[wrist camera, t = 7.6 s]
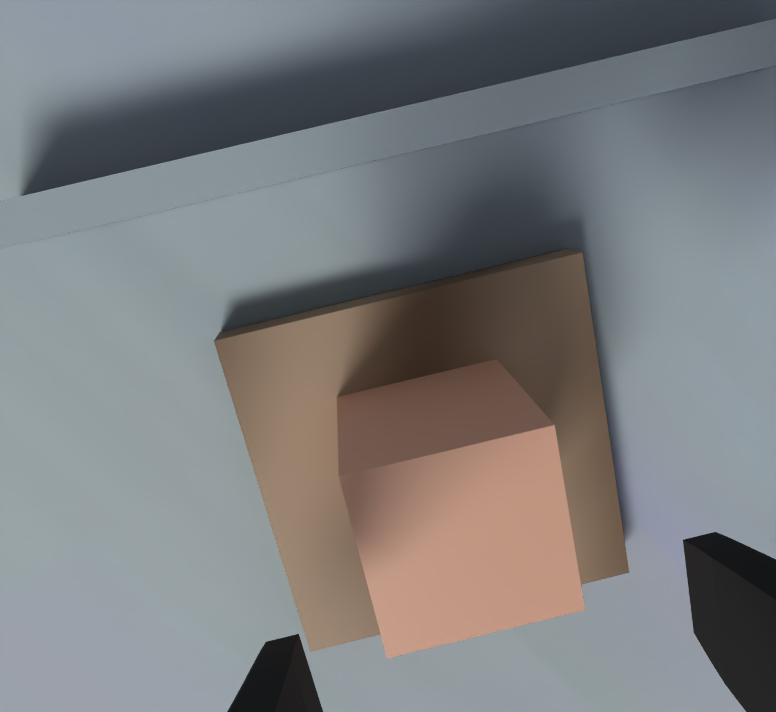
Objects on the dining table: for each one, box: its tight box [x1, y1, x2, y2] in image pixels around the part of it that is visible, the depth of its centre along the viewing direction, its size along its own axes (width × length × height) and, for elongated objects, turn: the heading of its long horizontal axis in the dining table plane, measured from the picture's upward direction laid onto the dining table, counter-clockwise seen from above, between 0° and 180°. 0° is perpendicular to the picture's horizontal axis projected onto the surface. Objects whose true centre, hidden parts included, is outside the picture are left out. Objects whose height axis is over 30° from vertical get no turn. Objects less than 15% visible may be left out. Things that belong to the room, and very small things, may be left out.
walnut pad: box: [214, 248, 629, 652], centre depth 20 cm, size 10×10×1 cm
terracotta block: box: [337, 359, 585, 658], centre depth 17 cm, size 4×4×5 cm
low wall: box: [0, 19, 776, 249], centre depth 17 cm, size 20×1×2 cm, turn 103°
